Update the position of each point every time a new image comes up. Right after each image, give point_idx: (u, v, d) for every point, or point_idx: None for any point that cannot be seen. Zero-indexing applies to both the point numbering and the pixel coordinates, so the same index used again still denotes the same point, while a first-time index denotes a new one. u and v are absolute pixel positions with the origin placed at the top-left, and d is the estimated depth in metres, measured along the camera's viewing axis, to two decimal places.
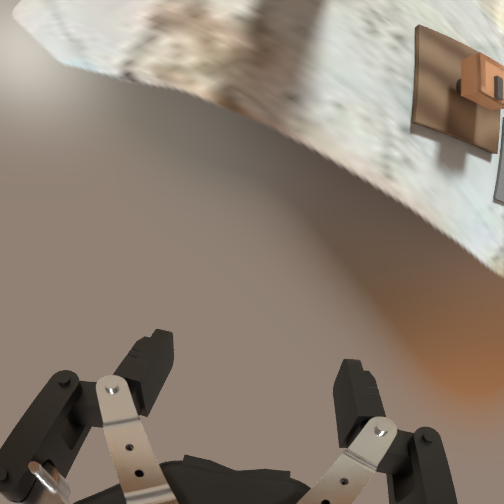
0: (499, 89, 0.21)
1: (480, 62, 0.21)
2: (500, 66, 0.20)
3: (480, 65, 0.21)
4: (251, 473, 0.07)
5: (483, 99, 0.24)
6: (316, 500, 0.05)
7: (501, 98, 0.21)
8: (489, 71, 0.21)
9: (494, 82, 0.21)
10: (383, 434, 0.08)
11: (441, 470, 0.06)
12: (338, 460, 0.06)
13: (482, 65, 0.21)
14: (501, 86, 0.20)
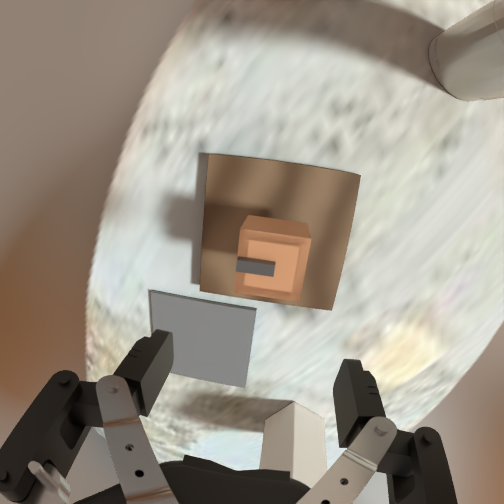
0: (251, 265, 0.23)
1: (292, 236, 0.23)
2: (299, 280, 0.24)
3: (287, 234, 0.23)
4: (251, 473, 0.07)
5: None
6: (316, 500, 0.05)
7: (237, 267, 0.23)
8: (281, 252, 0.23)
9: (263, 260, 0.24)
10: (383, 434, 0.08)
11: (440, 471, 0.06)
12: (338, 460, 0.06)
13: (286, 238, 0.23)
14: (258, 271, 0.23)
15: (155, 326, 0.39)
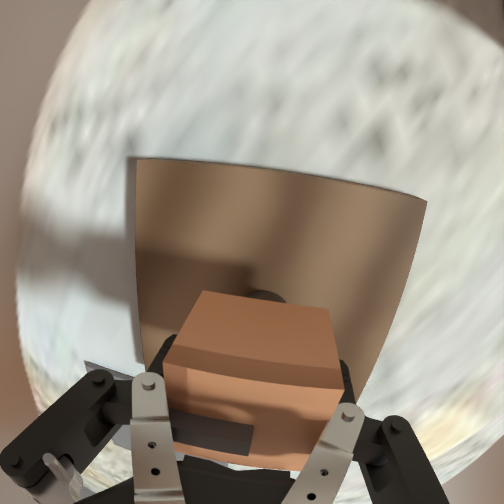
0: (195, 437, 0.08)
1: (296, 384, 0.08)
2: (305, 449, 0.09)
3: (283, 380, 0.08)
4: (251, 473, 0.07)
5: None
6: (316, 500, 0.05)
7: None
8: (267, 413, 0.09)
9: (226, 421, 0.09)
10: (349, 420, 0.08)
11: (417, 457, 0.07)
12: (313, 452, 0.07)
13: (281, 390, 0.08)
14: (213, 446, 0.08)
15: None
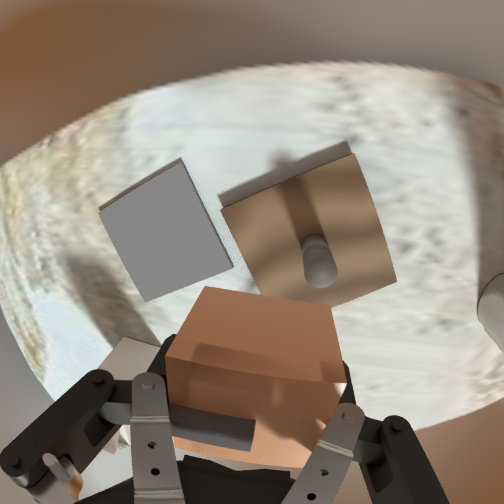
0: (197, 432, 0.08)
1: (299, 378, 0.08)
2: (307, 445, 0.09)
3: (285, 374, 0.08)
4: (251, 473, 0.07)
5: None
6: (316, 500, 0.05)
7: None
8: (270, 407, 0.09)
9: (228, 417, 0.09)
10: (349, 420, 0.08)
11: (417, 457, 0.07)
12: (313, 452, 0.07)
13: (283, 384, 0.08)
14: (215, 441, 0.09)
15: (145, 186, 0.34)
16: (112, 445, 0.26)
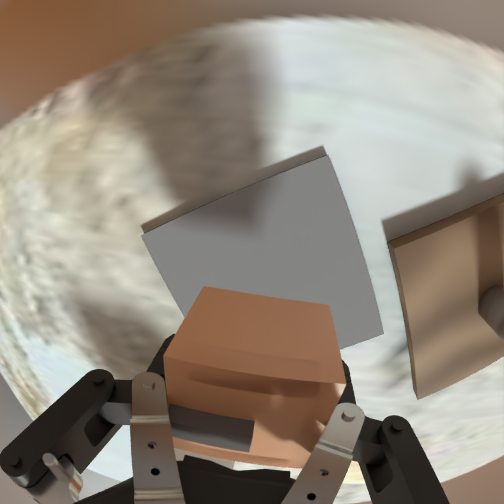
0: (196, 432, 0.08)
1: (297, 379, 0.08)
2: (306, 446, 0.09)
3: (284, 374, 0.08)
4: (251, 473, 0.07)
5: None
6: (316, 500, 0.05)
7: None
8: (269, 408, 0.09)
9: (226, 417, 0.09)
10: (349, 420, 0.08)
11: (417, 457, 0.07)
12: (313, 452, 0.07)
13: (282, 385, 0.08)
14: (213, 442, 0.08)
15: (250, 193, 0.19)
16: None
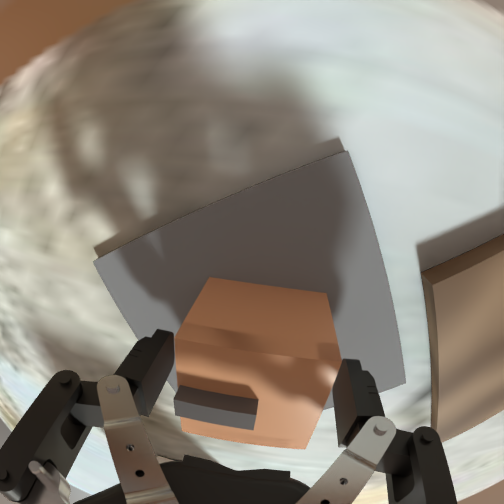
0: (204, 411, 0.09)
1: (297, 356, 0.09)
2: (307, 425, 0.10)
3: (285, 353, 0.09)
4: (251, 473, 0.07)
5: None
6: (316, 500, 0.05)
7: (177, 410, 0.10)
8: (271, 386, 0.10)
9: (232, 396, 0.10)
10: (382, 434, 0.08)
11: (440, 470, 0.06)
12: (337, 460, 0.06)
13: (283, 362, 0.09)
14: (220, 420, 0.09)
15: (233, 206, 0.13)
16: None
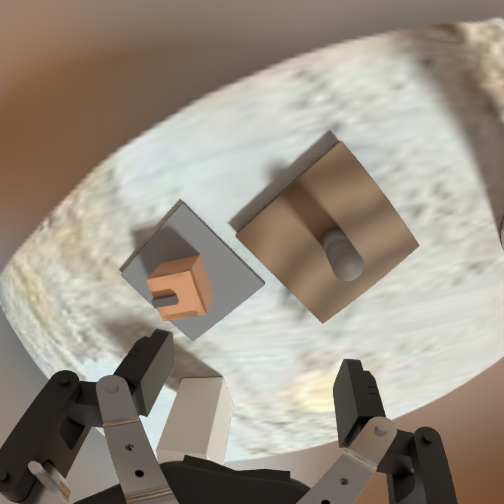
0: (160, 301, 0.32)
1: (177, 273, 0.32)
2: (197, 300, 0.32)
3: (174, 273, 0.32)
4: (251, 473, 0.07)
5: None
6: (316, 500, 0.05)
7: (154, 305, 0.32)
8: (176, 286, 0.32)
9: (168, 294, 0.32)
10: (383, 434, 0.08)
11: (441, 470, 0.06)
12: (338, 460, 0.06)
13: (174, 276, 0.32)
14: (166, 303, 0.32)
15: (157, 236, 0.36)
16: None
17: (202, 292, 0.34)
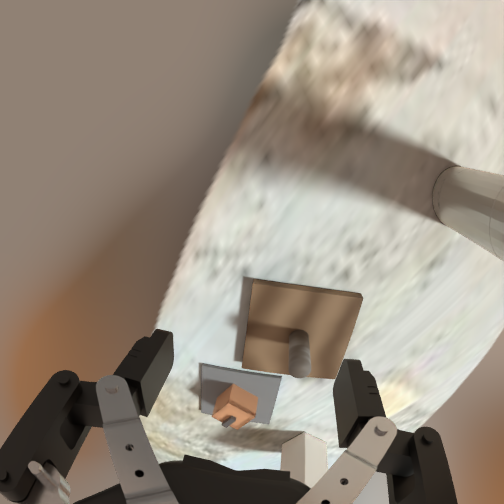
0: (226, 423, 0.45)
1: (224, 406, 0.45)
2: (245, 413, 0.45)
3: (222, 407, 0.45)
4: (251, 473, 0.07)
5: None
6: (316, 500, 0.05)
7: (225, 426, 0.46)
8: (228, 412, 0.45)
9: (228, 417, 0.46)
10: (383, 434, 0.08)
11: (441, 470, 0.06)
12: (338, 460, 0.06)
13: (223, 408, 0.45)
14: (230, 423, 0.45)
15: (203, 386, 0.50)
16: None
17: (246, 406, 0.46)
